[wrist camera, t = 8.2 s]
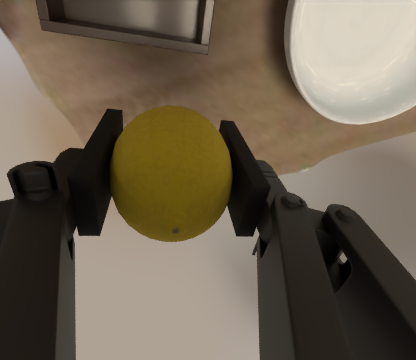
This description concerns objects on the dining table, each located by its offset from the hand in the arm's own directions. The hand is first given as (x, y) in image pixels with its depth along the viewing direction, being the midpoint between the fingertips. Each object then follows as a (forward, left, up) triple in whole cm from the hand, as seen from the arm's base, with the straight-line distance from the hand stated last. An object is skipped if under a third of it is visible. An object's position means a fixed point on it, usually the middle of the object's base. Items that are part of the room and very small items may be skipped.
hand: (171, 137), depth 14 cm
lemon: (0, 0, -1) cm, 1 cm away
